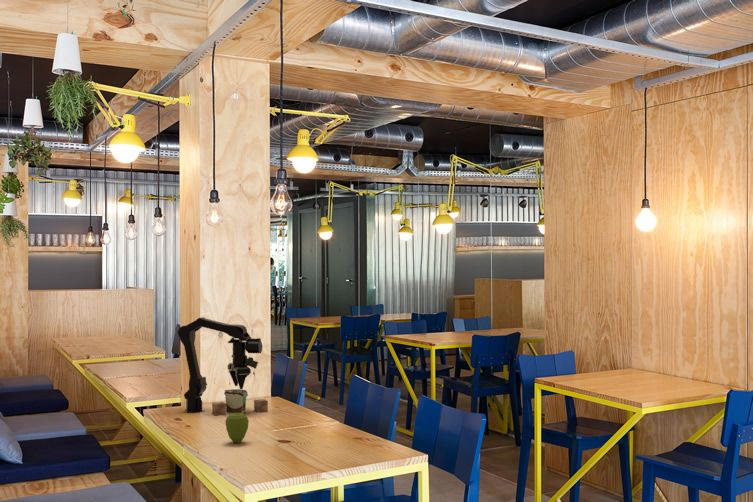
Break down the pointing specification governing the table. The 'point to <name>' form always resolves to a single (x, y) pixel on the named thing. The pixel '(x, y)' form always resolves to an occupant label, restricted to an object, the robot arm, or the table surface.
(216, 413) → the dotted block left
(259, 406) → the dotted block right
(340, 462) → the table surface
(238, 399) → the food container
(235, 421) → the green tapered egg
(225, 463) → the table surface
